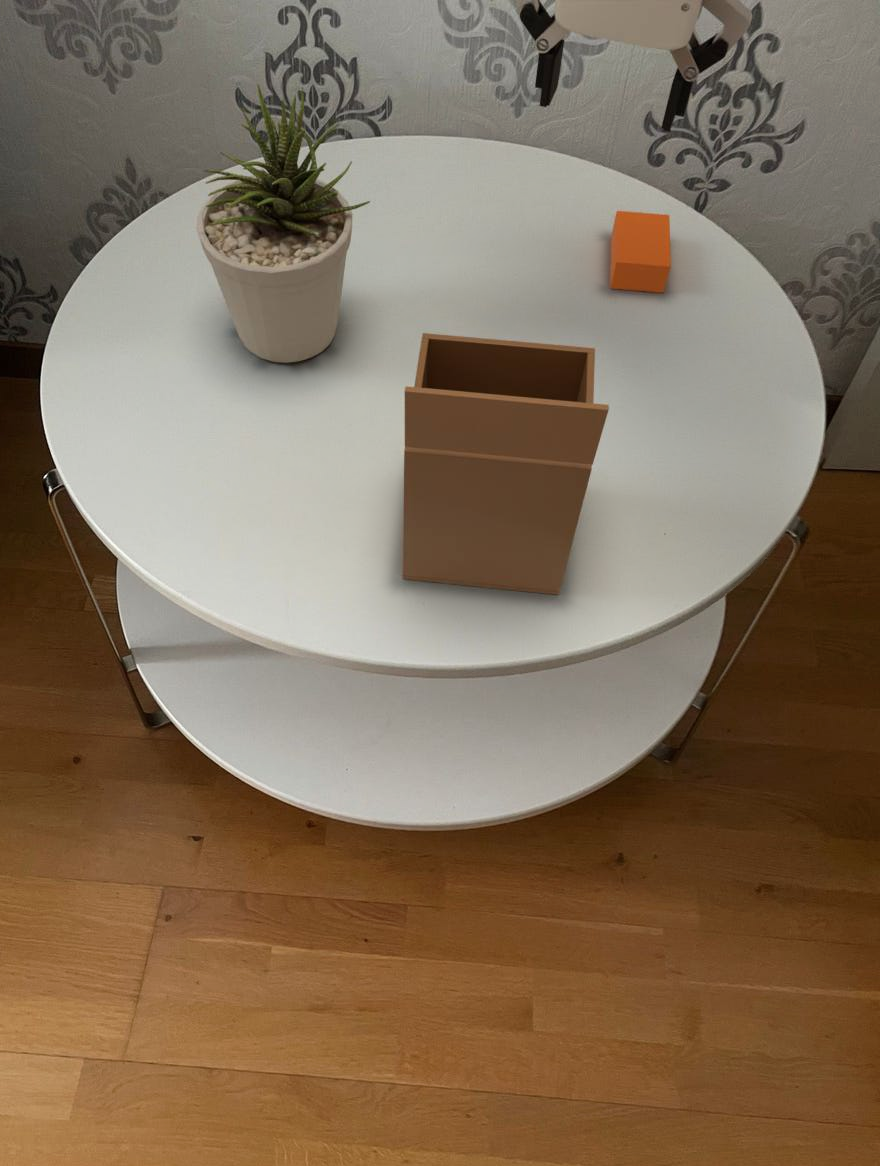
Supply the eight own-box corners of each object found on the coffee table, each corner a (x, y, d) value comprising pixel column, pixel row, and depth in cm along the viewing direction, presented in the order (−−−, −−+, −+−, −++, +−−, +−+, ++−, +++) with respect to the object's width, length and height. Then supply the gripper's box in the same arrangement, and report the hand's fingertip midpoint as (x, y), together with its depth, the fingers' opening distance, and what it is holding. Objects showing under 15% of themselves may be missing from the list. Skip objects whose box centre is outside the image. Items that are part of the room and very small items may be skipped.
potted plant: (387, 360, 87) (385, 149, 70) (235, 394, 85) (195, 184, 68) (347, 271, 93) (337, 56, 76) (205, 300, 91) (161, 86, 74)
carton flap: (608, 404, 57) (608, 410, 57) (592, 459, 62) (592, 465, 62) (405, 385, 58) (404, 391, 57) (405, 442, 62) (404, 447, 62)
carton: (563, 483, 80) (595, 347, 68) (558, 595, 75) (591, 469, 62) (418, 469, 81) (422, 332, 68) (402, 579, 75) (404, 451, 63)
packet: (610, 237, 96) (616, 210, 94) (662, 241, 96) (669, 214, 93) (609, 288, 92) (616, 261, 90) (663, 293, 92) (671, 266, 89)
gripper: (804, -158, 62) (725, 104, 77) (541, -198, 65) (514, 63, 80) (789, -106, 59) (709, 159, 74) (511, -150, 62) (488, 114, 76)
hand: (607, 109), depth 77 cm, fingers open, 9 cm apart
